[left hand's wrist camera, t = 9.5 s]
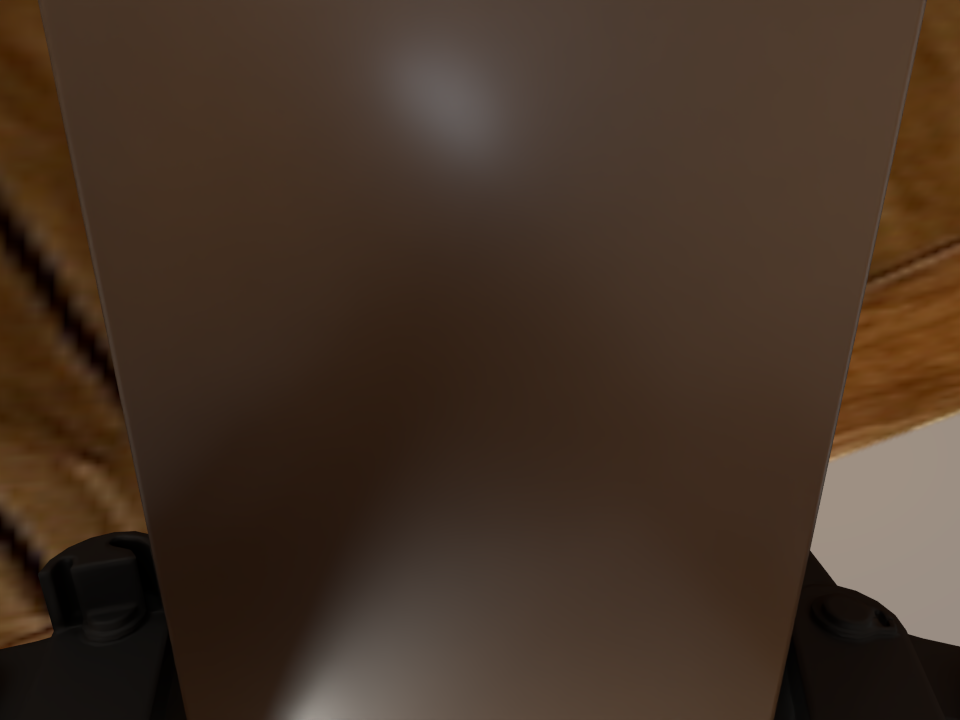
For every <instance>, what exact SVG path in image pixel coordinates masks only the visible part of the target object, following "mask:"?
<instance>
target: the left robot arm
mask: <svg viewBox="0 0 960 720" xmlns="http://www.w3.org/2000/svg"><path fill="white" fill-rule="evenodd" d="M38 576H39V580H40V583H41V587H42V591H43V594H44V598H45V601H46V605H47V608H48V612H49V615H50V619H51V622H52V626H53V629H54V632H53V634H52V637H50V638H47V639H43V640H40V641H36V642H32V643H27V644H23V645H18V646H14V647H9V648H5V649H0V720H187V718H186V714H185V709H184V704H183V699H182V694H181V689H180V685H179V680H178V675H177V670H176V665H175V660H174V656H173V651H172V646H171V641H170V636H169V631H168V627H167V622H166V617H165V612H164V607H163V602H162V597H161V593H160V588H159V583H158V578H157V573H156V568H155V564H154V559H153V554H152V549H151V544H150V539H149V535H148V534H146V533H141V532H137V531H130V532H113V533H109V534H105V535H101V536H97V537H93V538H90V539H87V540H85V541H83V542H80V543H78V544H76V545H73V546H71V547H69V548H67V549H66V550H64V551H63V552H61V553H60V554H58V555H57V556H55V557H54V558H52V559H51V560H50V561H49V562H48V563H47V564H46V565H45V566H44V568H43V569H42V570H41V571H40V572H39V574H38ZM774 720H960V647H959V646H955V645H950V644H946V643H941V642H937V641H932V640H928V639H923V638H919V637H916V636H913V635H909V634H908V633H907V631H906V629H905V628H904V627H903V625H902V624H901V623H900V621H899V620H898V618H897V617H896V616H895V615H894V614H893V613H892V612H891V611H889V610H888V609H887V608H885V607H884V606H883V605H881V604H880V603H879V602H878V601H876V600H874V599H872V598H870V597H867V596H865V595H863V594H861V593H859V592H857V591H855V590H851V589H847V588H844V587H840V586H837V585H836V583H835V582H834V581H833V580H832V578H831V577H830V576H829V574H828V573H827V572H826V570H825V569H824V568H823V567H822V565H821V564H820V563H819V561H818V560H817V559H816V558H815V556H814V555H813V554H812V552H811V551H810V552H809V556H808V561H807V566H806V570H805V575H804V580H803V585H802V589H801V594H800V599H799V603H798V608H797V613H796V618H795V622H794V627H793V632H792V636H791V641H790V646H789V650H788V655H787V660H786V665H785V669H784V674H783V679H782V683H781V688H780V693H779V698H778V702H777V707H776V712H775V716H774Z"/></svg>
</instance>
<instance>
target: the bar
mask: <svg viewBox="0 0 960 720" xmlns="http://www.w3.org/2000/svg"><path fill="white" fill-rule="evenodd" d="M926 1H927V0H38V2H39V7H40V12H41V17H42V22H43V26H44V31H45V36H46V41H47V46H48V51H49V56H50V60H51V65H52V70H53V75H54V80H55V85H56V89H57V94H58V99H59V104H60V109H61V114H62V118H63V123H64V128H65V133H66V138H67V143H68V147H69V152H70V157H71V162H72V167H73V172H74V176H75V181H76V186H77V191H78V196H79V201H80V206H81V210H82V215H83V220H84V225H85V230H86V235H87V239H88V244H89V249H90V254H91V259H92V264H93V268H94V273H95V278H96V283H97V288H98V293H99V297H100V302H101V307H102V312H103V317H104V322H105V326H106V331H107V336H108V341H109V346H110V351H111V356H112V360H113V365H114V370H115V375H116V380H117V385H118V389H119V394H120V399H121V404H122V409H123V414H124V418H125V423H126V428H127V433H128V438H129V443H130V447H131V452H132V457H133V462H134V467H135V472H136V476H137V481H138V486H139V491H140V496H141V501H142V506H143V510H144V515H145V520H146V525H147V530H148V535H149V539H150V544H151V549H152V554H153V559H154V564H155V568H156V573H157V578H158V583H159V588H160V593H161V597H162V602H163V607H164V612H165V617H166V622H167V627H168V631H169V636H170V641H171V646H172V651H173V656H174V660H175V665H176V670H177V675H178V680H179V685H180V689H181V694H182V699H183V704H184V709H185V714H186V718H187V720H774V716H775V712H776V707H777V702H778V698H779V693H780V688H781V683H782V679H783V674H784V669H785V665H786V660H787V655H788V650H789V646H790V641H791V636H792V632H793V627H794V622H795V618H796V613H797V608H798V603H799V599H800V594H801V589H802V585H803V580H804V575H805V570H806V566H807V561H808V556H809V552H810V547H811V542H812V538H813V533H814V528H815V523H816V518H817V514H818V509H819V505H820V500H821V495H822V490H823V486H824V481H825V476H826V472H827V467H828V462H829V458H830V453H831V448H832V443H833V439H834V434H835V429H836V425H837V420H838V415H839V411H840V406H841V401H842V396H843V392H844V387H845V382H846V378H847V373H848V368H849V363H850V359H851V354H852V349H853V345H854V340H855V335H856V331H857V326H858V321H859V316H860V312H861V307H862V302H863V298H864V293H865V288H866V284H867V279H868V274H869V269H870V265H871V260H872V255H873V251H874V246H875V241H876V236H877V232H878V227H879V222H880V218H881V213H882V208H883V204H884V199H885V194H886V189H887V185H888V180H889V175H890V171H891V166H892V161H893V156H894V152H895V147H896V142H897V138H898V133H899V128H900V124H901V119H902V114H903V109H904V105H905V100H906V95H907V91H908V86H909V81H910V77H911V72H912V67H913V62H914V58H915V53H916V48H917V44H918V39H919V34H920V29H921V25H922V20H923V15H924V11H925V6H926Z"/></svg>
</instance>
